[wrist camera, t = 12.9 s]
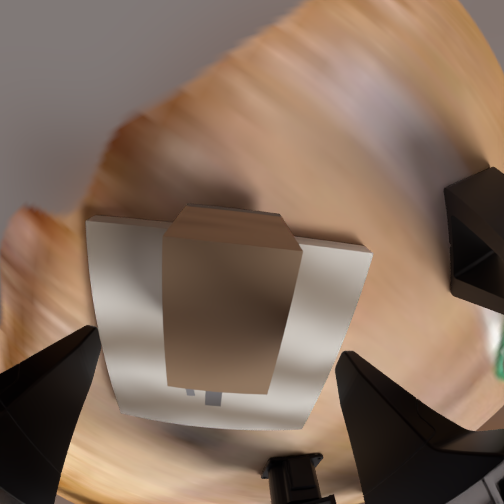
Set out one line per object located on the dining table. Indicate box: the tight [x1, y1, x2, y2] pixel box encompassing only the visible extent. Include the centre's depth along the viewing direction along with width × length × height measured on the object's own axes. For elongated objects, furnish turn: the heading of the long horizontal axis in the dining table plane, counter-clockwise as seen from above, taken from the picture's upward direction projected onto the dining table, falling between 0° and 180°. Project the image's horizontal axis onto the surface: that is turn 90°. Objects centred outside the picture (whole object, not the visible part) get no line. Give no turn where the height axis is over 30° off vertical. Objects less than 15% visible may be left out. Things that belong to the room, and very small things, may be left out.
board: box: [86, 215, 373, 430], centre depth 17 cm, size 17×16×1 cm
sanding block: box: [162, 204, 303, 395], centre depth 12 cm, size 7×4×5 cm, turn 172°
